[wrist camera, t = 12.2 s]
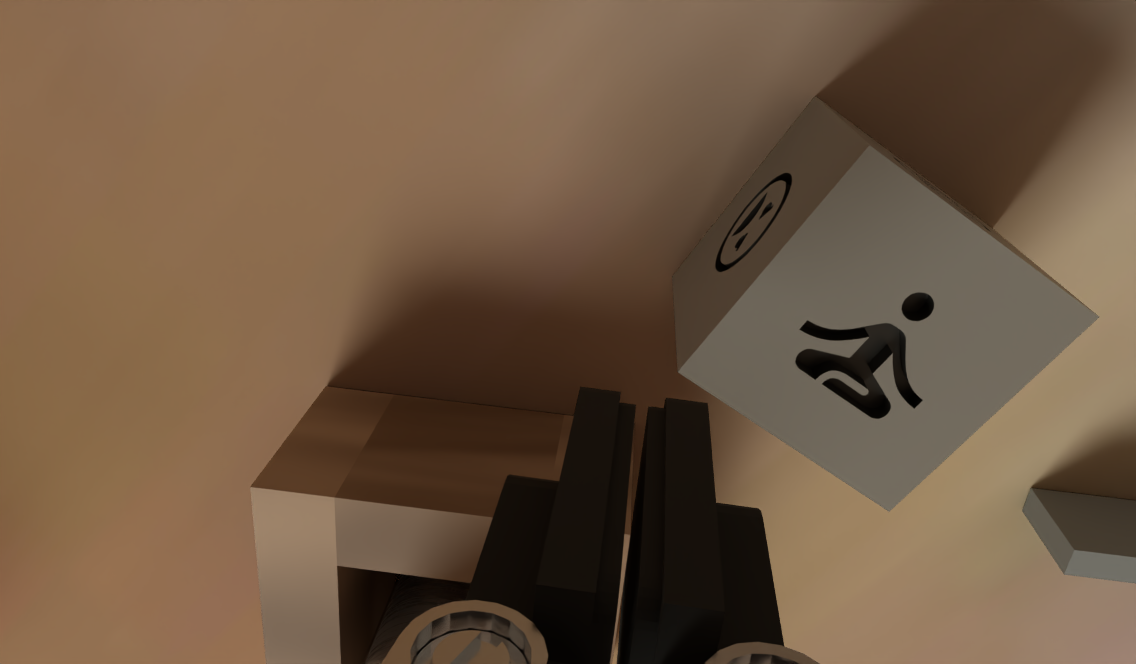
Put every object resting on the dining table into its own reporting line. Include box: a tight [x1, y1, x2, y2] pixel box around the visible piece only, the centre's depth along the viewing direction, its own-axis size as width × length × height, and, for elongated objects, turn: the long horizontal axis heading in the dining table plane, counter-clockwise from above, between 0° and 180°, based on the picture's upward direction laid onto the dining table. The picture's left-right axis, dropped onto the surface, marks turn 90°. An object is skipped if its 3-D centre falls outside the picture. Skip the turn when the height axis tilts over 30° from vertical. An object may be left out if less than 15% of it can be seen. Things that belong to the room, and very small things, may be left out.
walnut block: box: [250, 386, 635, 664], centre depth 21 cm, size 8×8×4 cm
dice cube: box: [672, 96, 1099, 511], centre depth 17 cm, size 5×5×5 cm
